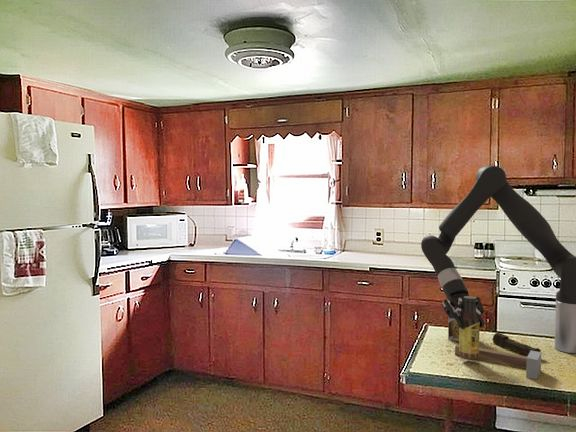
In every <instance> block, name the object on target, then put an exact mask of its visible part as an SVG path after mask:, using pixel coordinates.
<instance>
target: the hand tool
mask: <svg viewBox="0 0 576 432" xmlns="http://www.w3.org/2000/svg"><path fill="white" fill-rule="evenodd" d="M492 343H493V344H494V345H496V346H498V347H499V348H502V349H509V350H511V351H514V352H515V353H519V354H521V355H522V356H528V355H529V353H530V351H537V352H541V353H542V350H541V349H540V348H539V347H533V346H530V345H528V344H525V343H521V342H518V341H516V340H514V339H511V338H509V336H508V335H506V334H503V333H499V332H495V333H494V335H493V337H492Z"/></svg>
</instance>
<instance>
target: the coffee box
mask: <svg viewBox="0 0 576 432" xmlns="http://www.w3.org/2000/svg"><path fill="white" fill-rule="evenodd" d="M450 306H451V305H450ZM451 307H452V309H453V311H454V307H453V306H451ZM462 313H463V311H461V314H462ZM447 317H448V316H447ZM447 322H448V324H447V327H448V328H447V329H448V331H447V340H448V341H456V342H457V341H458V342H459V325H458V323H457V321H456V320H455V319H454V318H451V319H450V318H449V317H448V318H447Z"/></svg>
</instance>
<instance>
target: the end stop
mask: <svg viewBox="0 0 576 432" xmlns="http://www.w3.org/2000/svg"><path fill="white" fill-rule="evenodd" d="M525 370H526V371H525V373H526V374H525V378H527V379H533V380H538V379H539V377H540V374H541V372H542V351H541V352H537V351H530V353H529V355H528V356H527V361H526V368H525Z"/></svg>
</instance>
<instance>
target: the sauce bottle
mask: <svg viewBox="0 0 576 432" xmlns="http://www.w3.org/2000/svg"><path fill="white" fill-rule="evenodd" d="M476 297H477V296H471V295H469V296H464V311H463V313H462V314H461V316H462V318H463V320H464V322H465V324H466V328H465V329H461V328H460V327H459V341H458V344H459V351H460V352H459V355H458V356H460V357H461V358H464V359H468V360H472V359H473V360H475V358H478V353H479V348H480V321H479V318H478V315H477V312H476V302H477V298H476ZM461 316H460V317H461Z"/></svg>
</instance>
